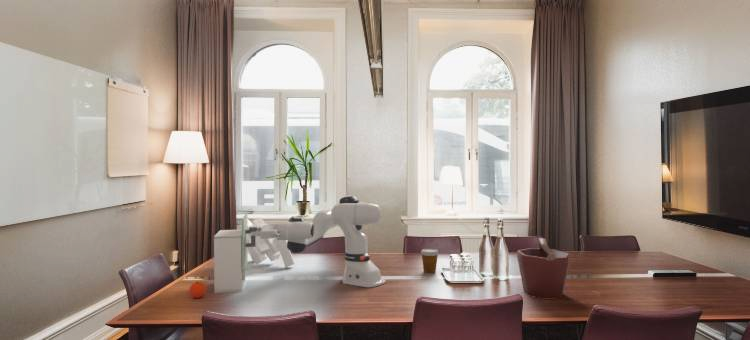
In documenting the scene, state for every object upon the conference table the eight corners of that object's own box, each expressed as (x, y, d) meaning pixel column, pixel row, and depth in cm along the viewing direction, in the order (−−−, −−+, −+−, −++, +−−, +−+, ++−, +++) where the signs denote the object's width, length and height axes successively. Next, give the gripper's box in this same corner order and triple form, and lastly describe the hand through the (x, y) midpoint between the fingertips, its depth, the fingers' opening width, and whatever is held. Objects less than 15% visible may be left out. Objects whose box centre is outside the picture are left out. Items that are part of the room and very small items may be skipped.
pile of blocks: (300, 268, 265) (284, 216, 276) (297, 260, 237) (280, 202, 248) (243, 288, 257) (229, 233, 268) (233, 281, 229) (218, 220, 241)
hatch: (258, 262, 220) (258, 213, 220) (255, 271, 201) (255, 218, 201) (245, 262, 219) (245, 214, 218) (242, 272, 200) (241, 219, 200)
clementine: (203, 293, 197) (203, 278, 197) (211, 296, 193) (211, 280, 193) (186, 297, 191) (186, 281, 191) (194, 301, 187) (194, 284, 187)
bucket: (565, 305, 182) (565, 245, 182) (511, 297, 193) (511, 241, 192) (570, 290, 203) (571, 236, 203) (522, 283, 214) (522, 233, 214)
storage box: (245, 280, 218) (245, 229, 218) (241, 291, 201) (241, 235, 200) (220, 282, 216) (219, 230, 216) (214, 292, 198) (213, 236, 198)
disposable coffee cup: (418, 273, 233) (418, 251, 233) (423, 269, 242) (423, 248, 242) (436, 275, 230) (436, 252, 230) (440, 271, 239) (440, 249, 238)
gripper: (280, 241, 203) (249, 242, 200) (281, 234, 223) (253, 235, 220) (280, 227, 202) (249, 228, 200) (281, 221, 222) (253, 222, 220)
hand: (251, 232), depth 210 cm, fingers open, 8 cm apart
